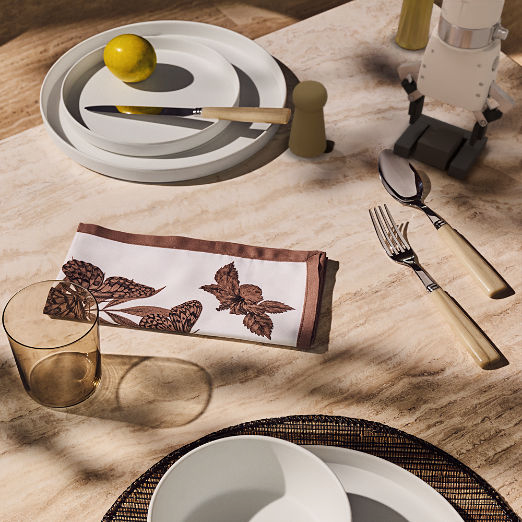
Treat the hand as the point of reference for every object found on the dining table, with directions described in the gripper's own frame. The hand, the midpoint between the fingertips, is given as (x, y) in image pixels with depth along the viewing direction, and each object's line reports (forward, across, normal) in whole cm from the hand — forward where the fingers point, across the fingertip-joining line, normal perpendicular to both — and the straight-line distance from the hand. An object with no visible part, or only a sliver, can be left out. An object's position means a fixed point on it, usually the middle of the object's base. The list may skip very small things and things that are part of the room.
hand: (444, 130), depth 103 cm
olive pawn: (+4, +18, +9) cm, 21 cm away
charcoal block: (+4, 0, 0) cm, 5 cm away
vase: (+5, +17, -27) cm, 32 cm away
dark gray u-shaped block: (+4, 0, -1) cm, 5 cm away
